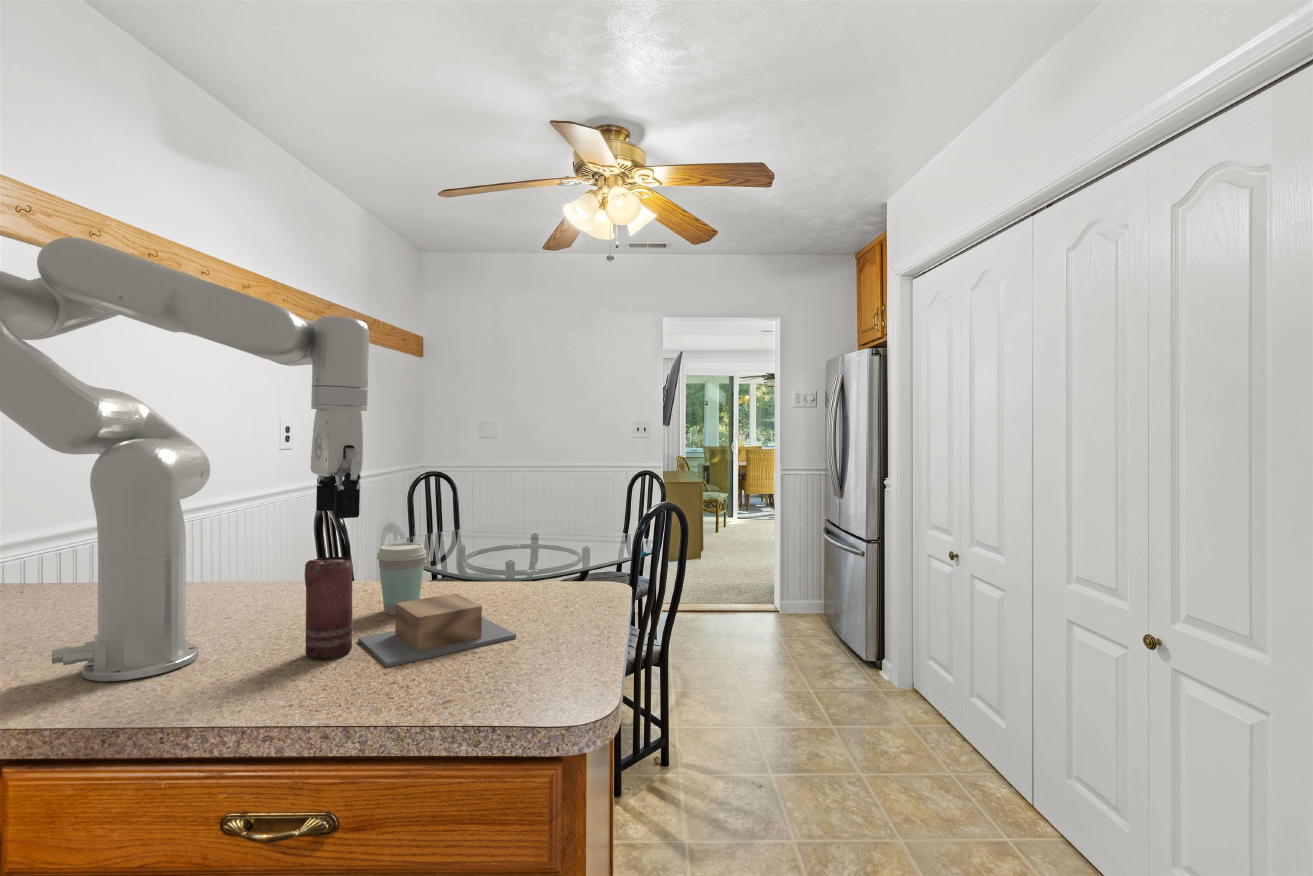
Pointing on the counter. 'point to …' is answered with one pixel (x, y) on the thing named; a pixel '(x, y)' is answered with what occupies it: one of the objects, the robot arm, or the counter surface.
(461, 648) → the mat
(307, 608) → the can
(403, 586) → the coffee cup
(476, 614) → the block
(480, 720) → the counter surface
